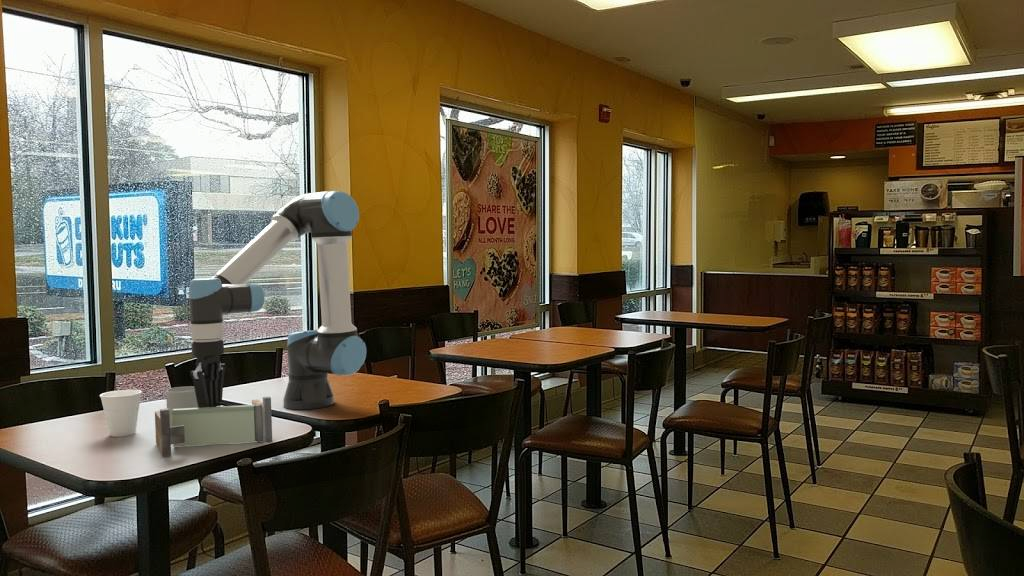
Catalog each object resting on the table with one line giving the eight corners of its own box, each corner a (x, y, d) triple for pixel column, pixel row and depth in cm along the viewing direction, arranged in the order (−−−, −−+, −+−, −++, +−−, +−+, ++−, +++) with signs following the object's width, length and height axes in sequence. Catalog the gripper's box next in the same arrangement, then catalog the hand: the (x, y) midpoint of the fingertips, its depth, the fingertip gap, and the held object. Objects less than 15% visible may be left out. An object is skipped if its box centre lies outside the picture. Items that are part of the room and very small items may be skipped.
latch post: (175, 441, 189) (173, 398, 189) (185, 455, 177) (183, 408, 176) (155, 444, 187) (153, 400, 186) (163, 458, 174) (161, 411, 174)
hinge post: (258, 430, 200) (257, 389, 200) (272, 441, 188) (270, 397, 188) (252, 431, 199) (251, 390, 199) (265, 442, 188) (264, 398, 187)
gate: (263, 439, 189) (262, 404, 188) (262, 441, 187) (261, 405, 186) (175, 445, 185) (173, 408, 184) (173, 446, 183) (171, 410, 183)
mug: (201, 431, 200) (199, 390, 200) (166, 434, 197) (164, 393, 197) (203, 421, 212) (201, 383, 211) (170, 424, 209) (168, 385, 208)
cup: (101, 432, 200) (99, 391, 200) (143, 428, 205) (141, 388, 204) (100, 441, 192) (98, 398, 191) (144, 436, 196) (142, 394, 196)
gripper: (207, 336, 195) (211, 426, 197) (178, 343, 183) (182, 439, 184) (234, 336, 194) (238, 427, 196) (207, 343, 182) (211, 439, 183)
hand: (211, 432), depth 190 cm, fingers closed
